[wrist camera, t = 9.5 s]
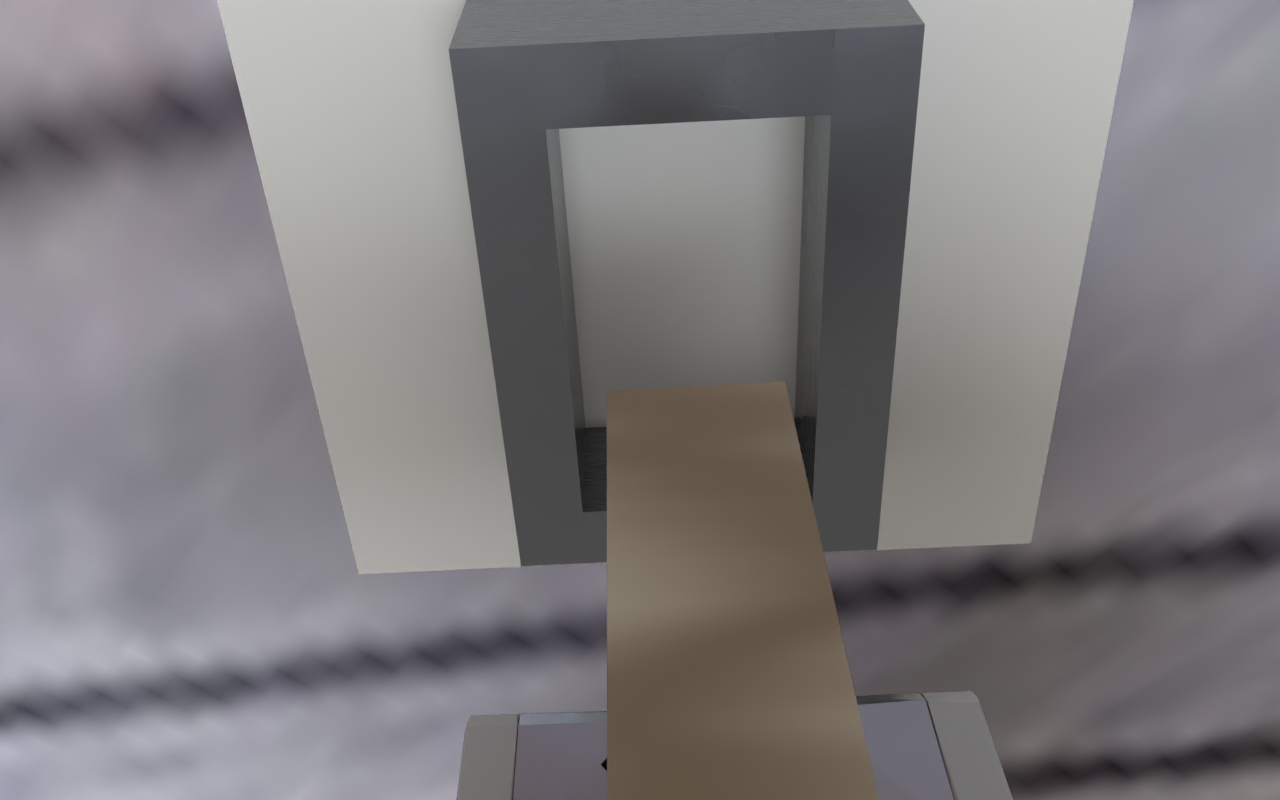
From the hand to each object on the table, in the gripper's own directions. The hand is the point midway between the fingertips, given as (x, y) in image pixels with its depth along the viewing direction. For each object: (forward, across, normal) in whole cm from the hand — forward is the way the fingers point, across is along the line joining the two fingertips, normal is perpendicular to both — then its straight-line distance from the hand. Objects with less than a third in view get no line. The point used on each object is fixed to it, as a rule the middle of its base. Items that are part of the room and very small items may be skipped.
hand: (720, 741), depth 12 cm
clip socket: (+10, 0, 0) cm, 10 cm away
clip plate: (+12, 0, 0) cm, 12 cm away
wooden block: (+3, 0, 0) cm, 3 cm away
